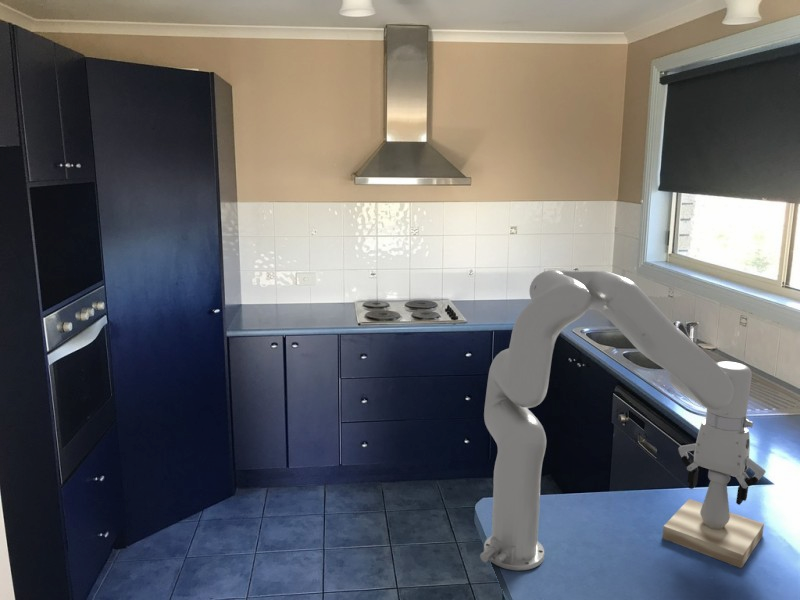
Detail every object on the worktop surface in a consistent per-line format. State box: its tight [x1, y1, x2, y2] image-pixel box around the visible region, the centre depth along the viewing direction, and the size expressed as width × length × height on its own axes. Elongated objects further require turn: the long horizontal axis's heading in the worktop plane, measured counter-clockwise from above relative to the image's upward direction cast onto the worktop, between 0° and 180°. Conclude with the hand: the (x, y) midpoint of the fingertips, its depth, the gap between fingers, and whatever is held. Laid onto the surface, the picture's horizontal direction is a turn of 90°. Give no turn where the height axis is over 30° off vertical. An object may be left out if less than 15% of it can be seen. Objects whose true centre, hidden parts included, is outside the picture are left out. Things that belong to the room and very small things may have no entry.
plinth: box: [662, 498, 765, 569], centre depth 143 cm, size 16×16×3 cm
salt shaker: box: [700, 469, 731, 530], centre depth 141 cm, size 6×6×13 cm
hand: (715, 494), depth 141 cm, fingers open, 9 cm apart
